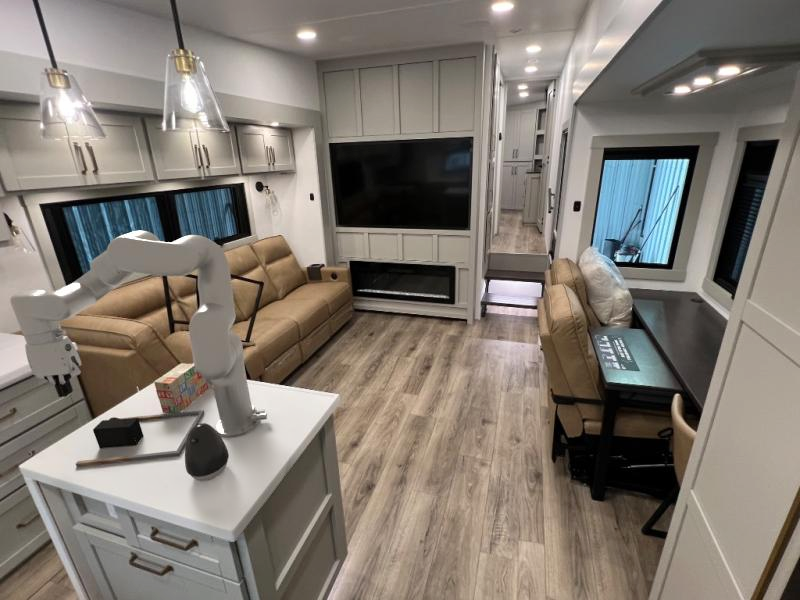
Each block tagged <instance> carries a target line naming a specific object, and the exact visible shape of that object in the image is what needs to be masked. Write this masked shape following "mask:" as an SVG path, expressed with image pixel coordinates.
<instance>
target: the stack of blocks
mask: <svg viewBox="0 0 800 600" xmlns="http://www.w3.org/2000/svg"><path fill="white" fill-rule="evenodd" d="M153 384H154V387H155V391H156V396H157V398H158V400H159V403H160V407H161V412H162V414H169V413H180V412H181V411H182V410H183V411H184V410H185V408H186V407H187V408H188V407H189V406H190V405H192V404H193V403H194V402H195V401H197V400H198V399H199V398H198V397H199V396H200V395H201V396H202V395H203V394H204V393H206V392H207V391H208V390H209V389H211V388H213V385H212V381H211V380H209V379H206V378H204V377H202V376H201V375H200V374H199V373H198V372H197V370H196V368H195V365H194V362H192V363H184V362H183V363H180V364H178V365H176V366H174V368H172V369H171V370H169V371H168V372H167V373H165V374H164V375H162V376H160V377H158V378H157V379H156V380H154V382H153ZM210 387H211V388H210ZM206 390H207V391H206ZM205 391H206V392H205ZM201 396H200V397H201ZM193 401H194V402H193ZM192 402H193V403H192ZM191 403H192V404H191ZM187 408H186V409H187ZM183 411H182V412H183Z"/></svg>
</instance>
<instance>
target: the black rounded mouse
mask: <svg viewBox="0 0 800 600" xmlns="http://www.w3.org/2000/svg"><path fill="white" fill-rule="evenodd" d="M229 455H230V453H229V450H228V448H227V446H226V444H225V442H224V439H223V438H222V436H221V435H219V434H218V432H217V429H215V428H214V426H211V424H208V423H206V422H201V423H200V422H199V424H197V425H195V426H194V427H193V428H192V429H191V430H190V432H189V434H188V437H187V440H186V446H185V448H184V463H185V464H184V465H185V470H186V473H187V475H189V476H190V477H191V478H193V479H194V480H196V481H199V482H207V481H211V480H213V479H215V478H217V477H219V476H220V475H221V474H222V473H223V472H224V471H225V469H226V467H227V465H228V461H229Z"/></svg>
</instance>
